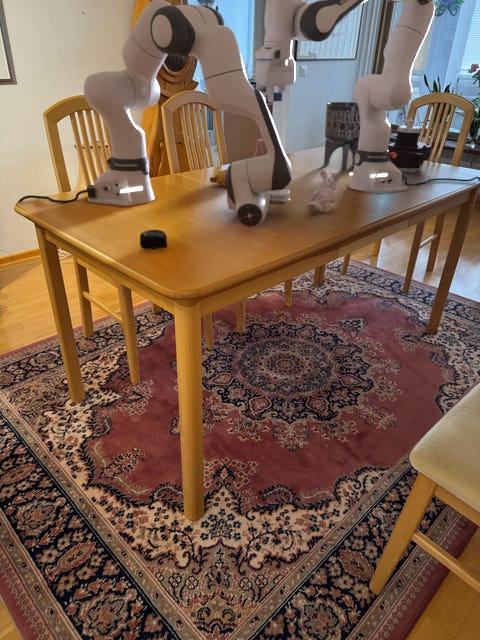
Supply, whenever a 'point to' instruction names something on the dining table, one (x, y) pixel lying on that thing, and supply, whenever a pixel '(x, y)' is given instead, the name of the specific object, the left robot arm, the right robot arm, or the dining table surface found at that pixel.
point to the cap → (278, 96)
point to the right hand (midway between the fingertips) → (275, 101)
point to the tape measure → (153, 239)
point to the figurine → (324, 194)
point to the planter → (342, 130)
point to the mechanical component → (409, 148)
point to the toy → (219, 178)
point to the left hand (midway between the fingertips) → (260, 189)
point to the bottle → (260, 148)
